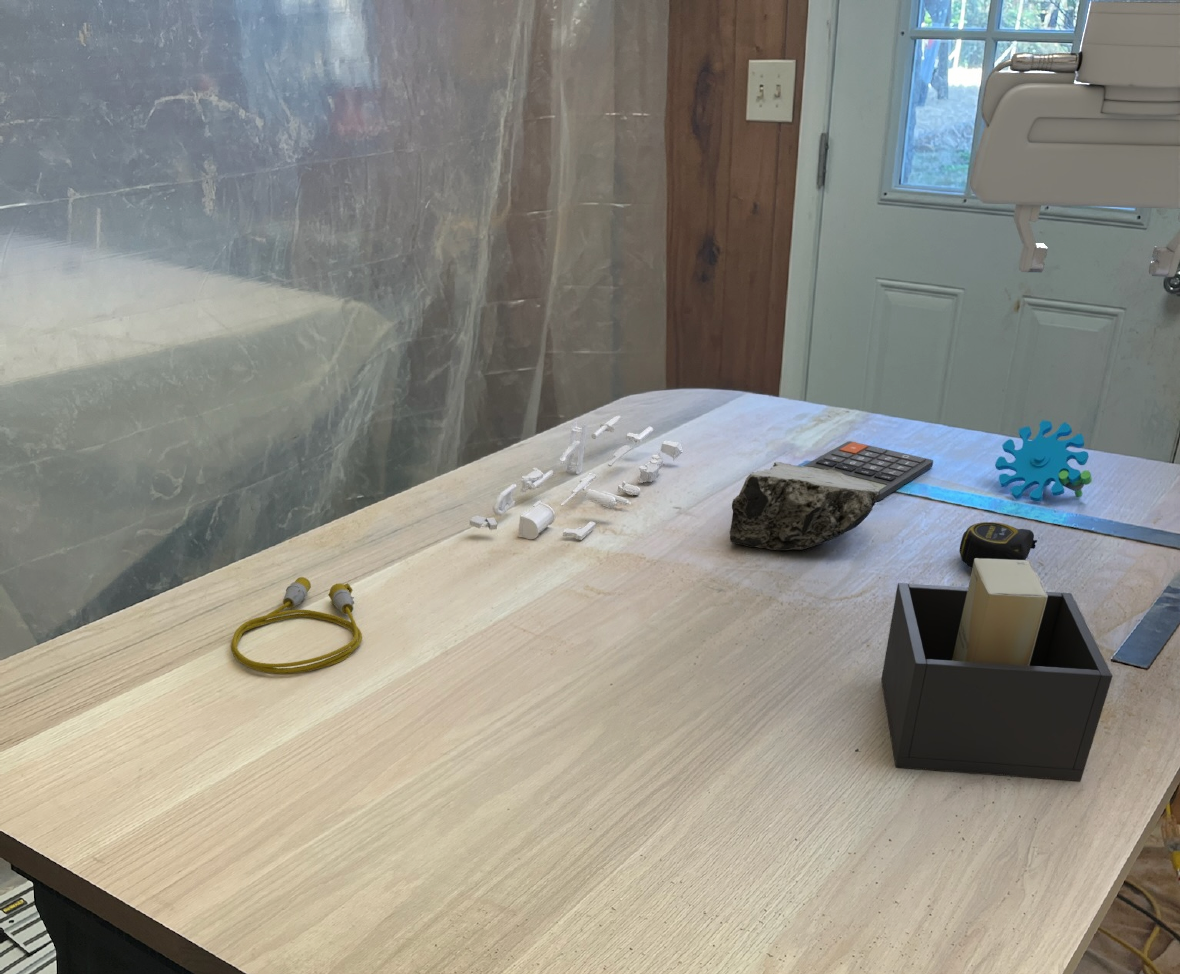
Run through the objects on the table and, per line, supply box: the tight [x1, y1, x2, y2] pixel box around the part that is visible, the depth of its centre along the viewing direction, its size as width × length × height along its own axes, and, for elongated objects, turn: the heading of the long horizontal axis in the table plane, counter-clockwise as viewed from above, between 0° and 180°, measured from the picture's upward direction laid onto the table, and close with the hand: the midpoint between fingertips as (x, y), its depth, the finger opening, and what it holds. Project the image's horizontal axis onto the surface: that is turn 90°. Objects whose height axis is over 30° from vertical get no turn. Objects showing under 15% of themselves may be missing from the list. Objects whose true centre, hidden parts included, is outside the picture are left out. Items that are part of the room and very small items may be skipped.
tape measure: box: [958, 521, 1038, 569], centre depth 116 cm, size 7×7×4 cm
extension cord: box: [230, 576, 363, 675], centre depth 104 cm, size 12×16×2 cm
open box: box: [881, 582, 1113, 782], centre depth 89 cm, size 14×14×9 cm
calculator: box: [802, 441, 934, 502], centre depth 139 cm, size 12×1×15 cm
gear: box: [994, 420, 1093, 503], centre depth 134 cm, size 11×6×10 cm
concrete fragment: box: [729, 461, 880, 551], centre depth 121 cm, size 15×10×15 cm
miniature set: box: [469, 415, 684, 541], centre depth 132 cm, size 6×35×12 cm
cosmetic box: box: [952, 558, 1048, 666], centre depth 88 cm, size 6×4×12 cm
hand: (1095, 273), depth 86 cm, fingers open, 8 cm apart
